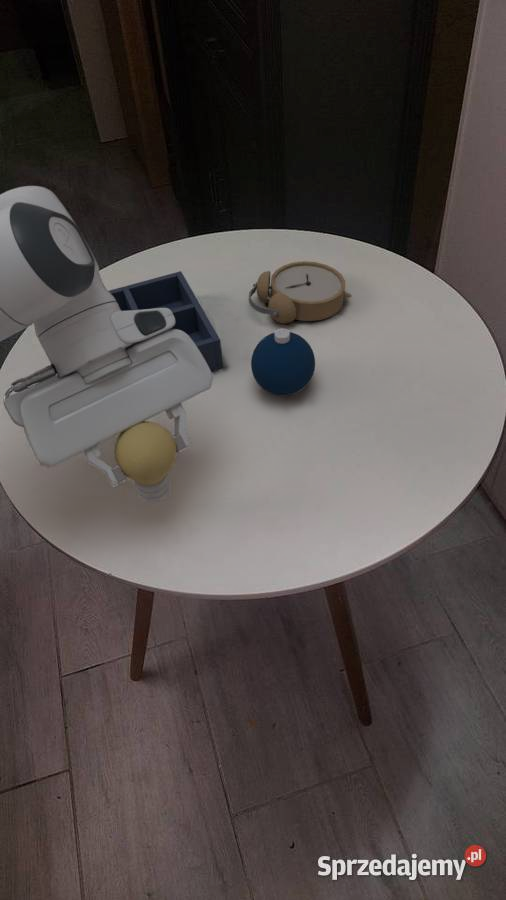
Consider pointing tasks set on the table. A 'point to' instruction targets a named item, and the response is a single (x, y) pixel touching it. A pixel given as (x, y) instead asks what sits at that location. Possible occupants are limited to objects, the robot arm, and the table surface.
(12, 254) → the robot arm
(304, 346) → the christmas ornament
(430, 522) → the table surface
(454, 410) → the table surface
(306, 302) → the alarm clock
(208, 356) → the navy compartment tray
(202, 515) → the table surface
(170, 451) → the light bulb
